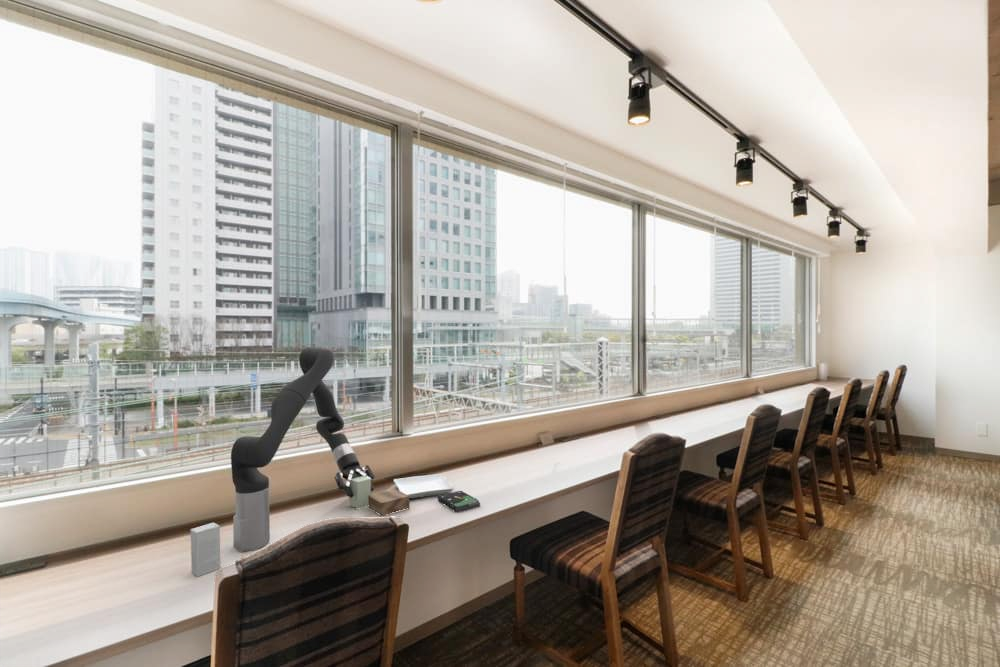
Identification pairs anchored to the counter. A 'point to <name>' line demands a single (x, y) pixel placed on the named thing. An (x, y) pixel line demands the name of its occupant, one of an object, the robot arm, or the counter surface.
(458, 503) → the disk drive
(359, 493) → the sage block
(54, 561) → the counter surface
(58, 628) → the counter surface
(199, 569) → the skincare box
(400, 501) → the walnut block
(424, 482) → the salad plate
